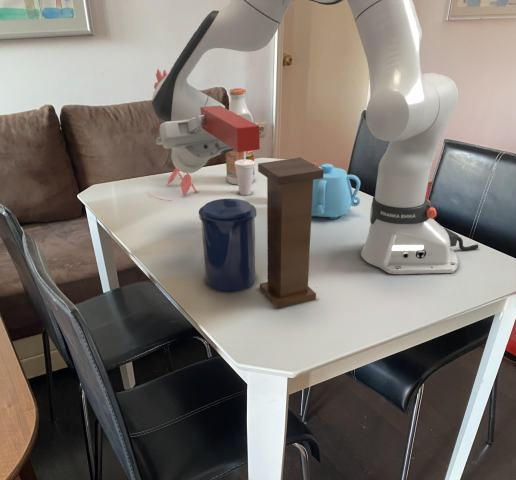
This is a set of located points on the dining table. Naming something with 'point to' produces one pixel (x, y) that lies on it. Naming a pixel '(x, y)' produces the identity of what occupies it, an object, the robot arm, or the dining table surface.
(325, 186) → the decorative pot
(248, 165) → the smoothie
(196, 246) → the dining table surface
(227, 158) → the fruit juice
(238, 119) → the red rectangular block
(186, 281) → the dining table surface
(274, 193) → the stand
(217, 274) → the pot
